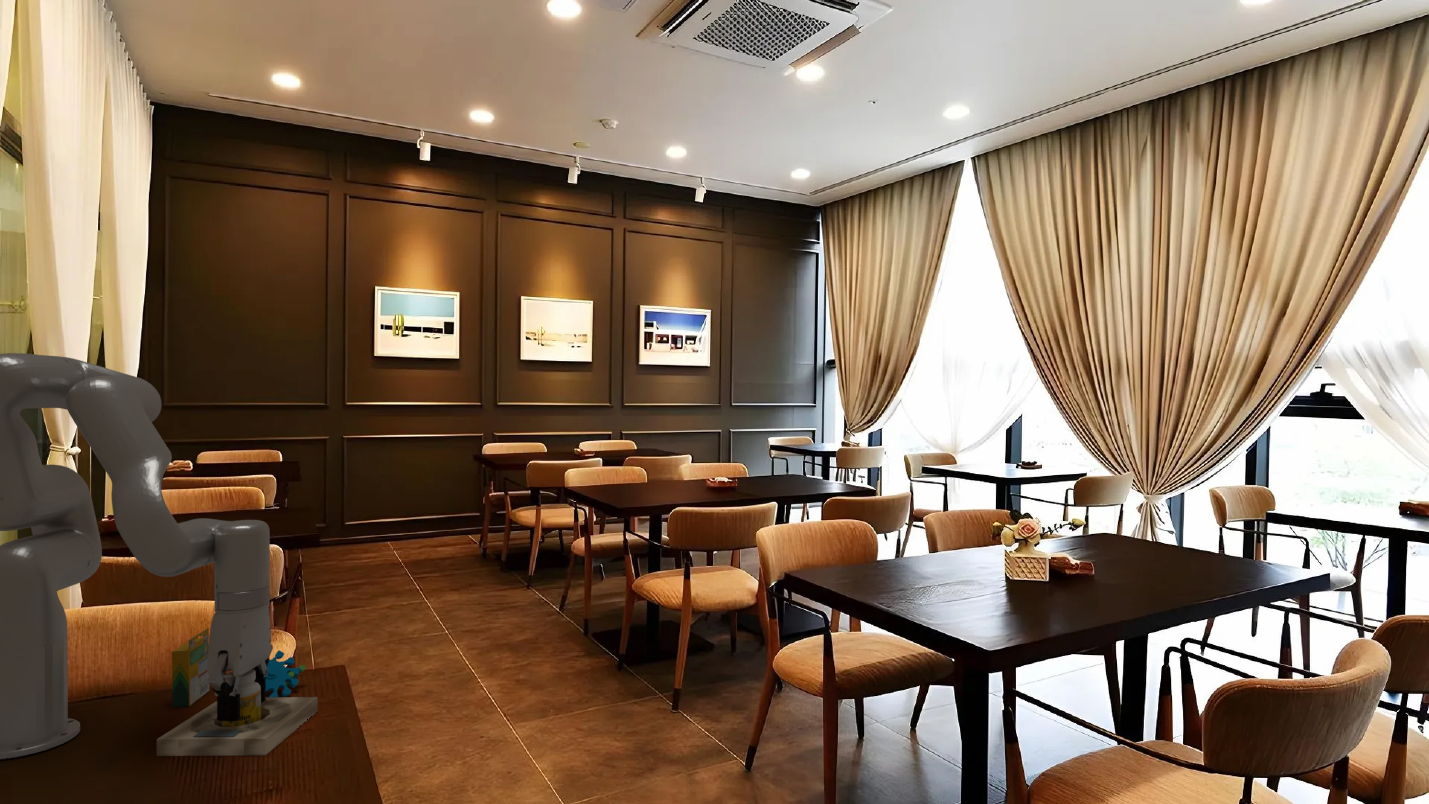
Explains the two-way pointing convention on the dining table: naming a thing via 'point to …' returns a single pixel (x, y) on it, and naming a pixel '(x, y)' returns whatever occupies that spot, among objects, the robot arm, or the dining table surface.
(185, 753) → the socket board
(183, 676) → the crayon box
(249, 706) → the supplement bottle
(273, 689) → the blue virus toy
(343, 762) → the dining table surface
